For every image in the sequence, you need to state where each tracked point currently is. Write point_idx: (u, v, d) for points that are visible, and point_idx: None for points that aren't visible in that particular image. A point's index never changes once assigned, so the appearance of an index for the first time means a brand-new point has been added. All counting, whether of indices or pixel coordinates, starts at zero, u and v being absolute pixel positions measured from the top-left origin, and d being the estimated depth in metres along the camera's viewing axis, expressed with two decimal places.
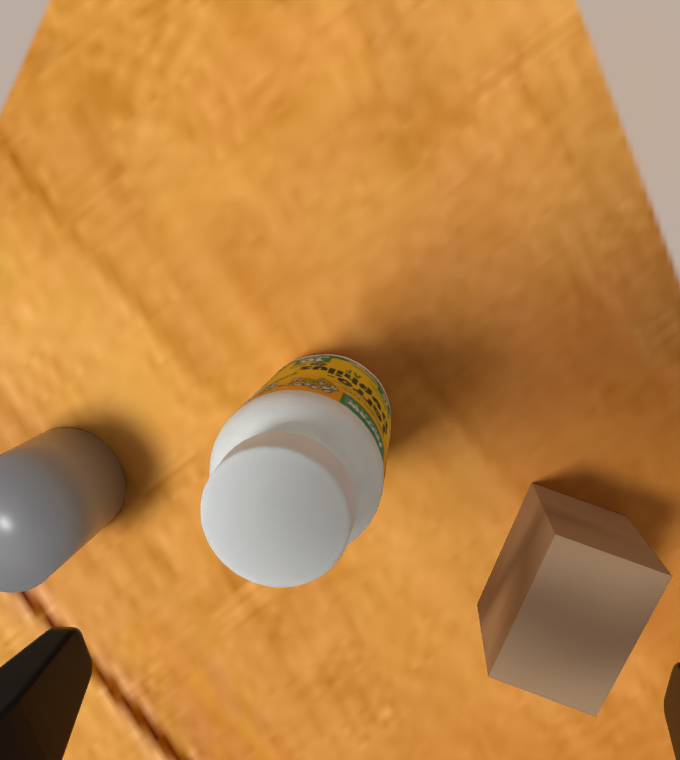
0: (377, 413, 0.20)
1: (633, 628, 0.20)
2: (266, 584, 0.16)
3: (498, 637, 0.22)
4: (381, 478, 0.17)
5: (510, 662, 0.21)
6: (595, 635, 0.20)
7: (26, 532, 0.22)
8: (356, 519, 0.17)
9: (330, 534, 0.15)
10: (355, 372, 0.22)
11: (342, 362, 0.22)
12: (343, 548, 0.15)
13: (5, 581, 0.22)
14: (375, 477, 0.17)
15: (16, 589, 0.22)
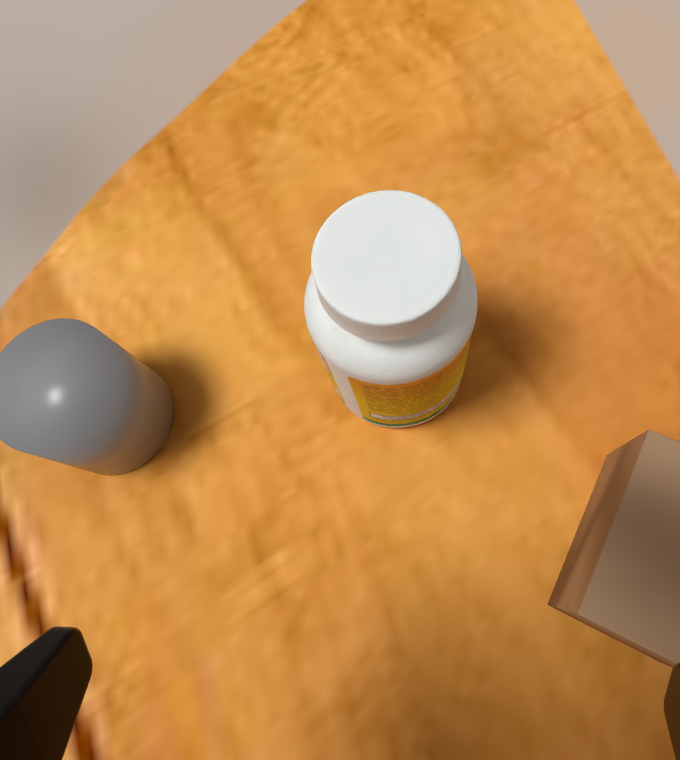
0: None
1: None
2: (365, 321, 0.15)
3: (586, 574, 0.18)
4: (477, 300, 0.18)
5: (605, 594, 0.17)
6: None
7: (81, 385, 0.21)
8: (451, 323, 0.17)
9: (440, 268, 0.15)
10: None
11: None
12: (452, 283, 0.15)
13: (34, 440, 0.20)
14: (473, 291, 0.17)
15: (42, 450, 0.20)
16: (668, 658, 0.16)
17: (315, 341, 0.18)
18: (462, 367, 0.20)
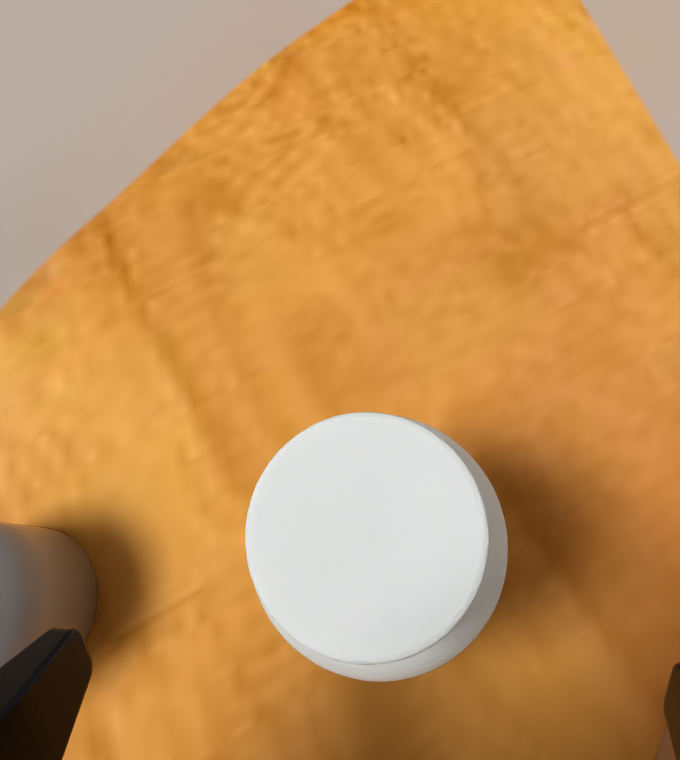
0: None
1: None
2: (329, 655, 0.09)
3: None
4: (507, 551, 0.12)
5: None
6: None
7: None
8: None
9: (454, 564, 0.09)
10: None
11: None
12: (474, 593, 0.09)
13: None
14: (501, 542, 0.11)
15: None
16: None
17: (263, 606, 0.12)
18: None
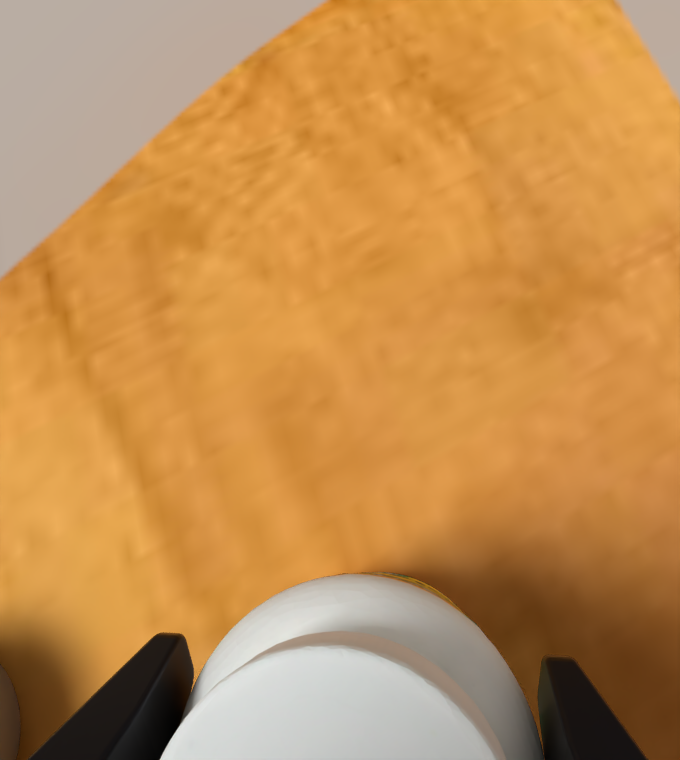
0: None
1: None
2: None
3: None
4: None
5: None
6: None
7: None
8: None
9: None
10: (450, 601, 0.13)
11: (427, 584, 0.14)
12: None
13: None
14: None
15: None
16: None
17: None
18: None
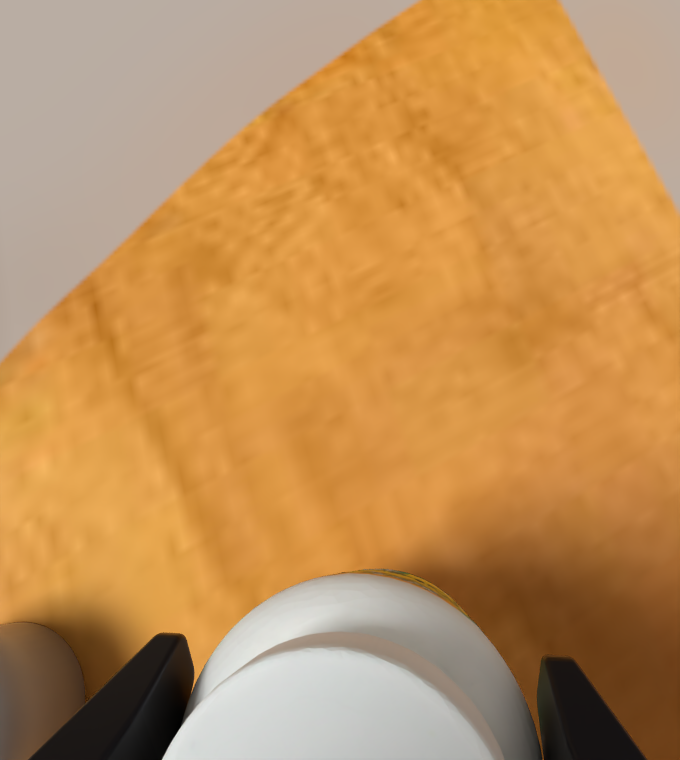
0: None
1: None
2: None
3: None
4: None
5: None
6: None
7: None
8: None
9: None
10: (449, 597, 0.13)
11: (426, 581, 0.14)
12: None
13: None
14: None
15: None
16: None
17: None
18: None
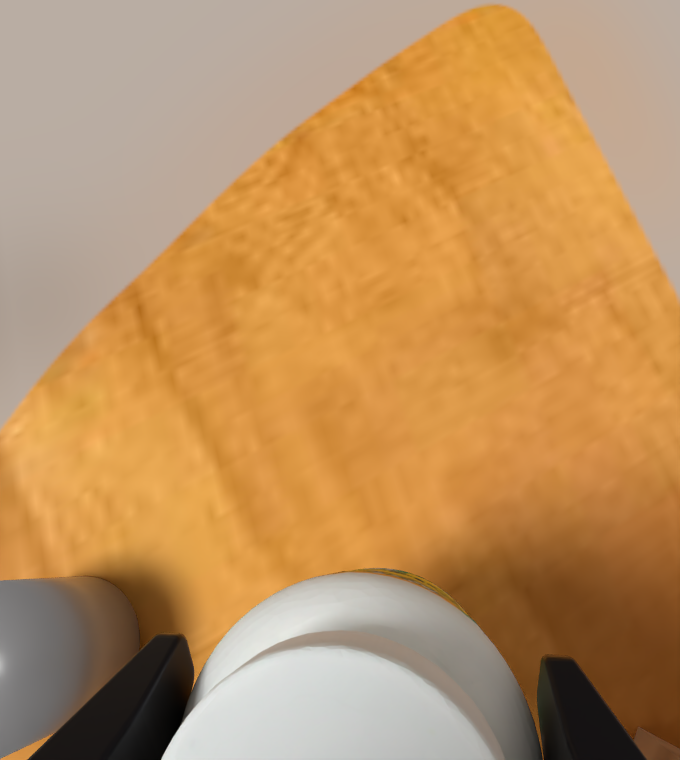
0: None
1: None
2: None
3: None
4: None
5: None
6: None
7: (20, 674, 0.18)
8: None
9: None
10: (449, 596, 0.13)
11: (426, 580, 0.14)
12: None
13: None
14: None
15: None
16: None
17: None
18: None
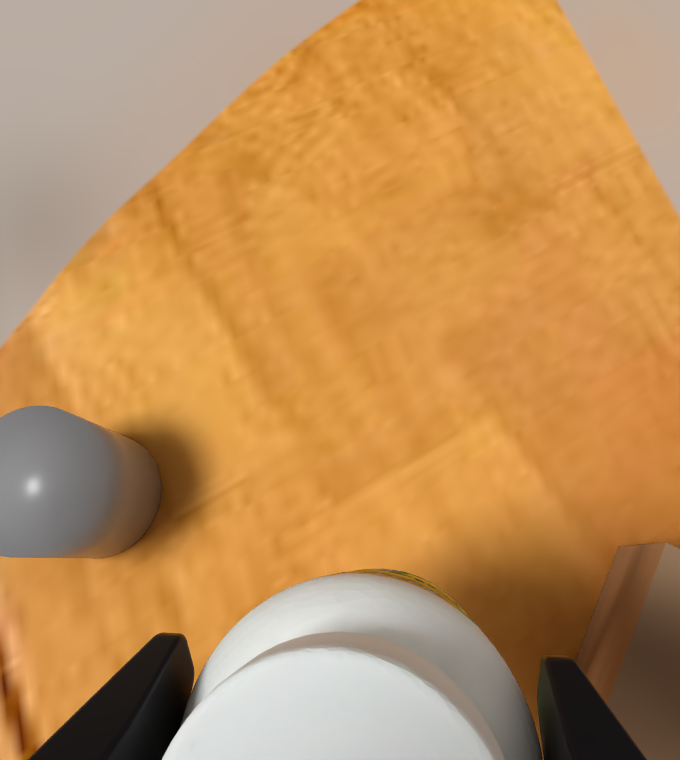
0: None
1: None
2: None
3: None
4: None
5: None
6: None
7: (59, 482, 0.19)
8: None
9: None
10: (449, 597, 0.13)
11: (426, 580, 0.14)
12: None
13: (8, 542, 0.19)
14: None
15: (17, 553, 0.19)
16: None
17: None
18: None
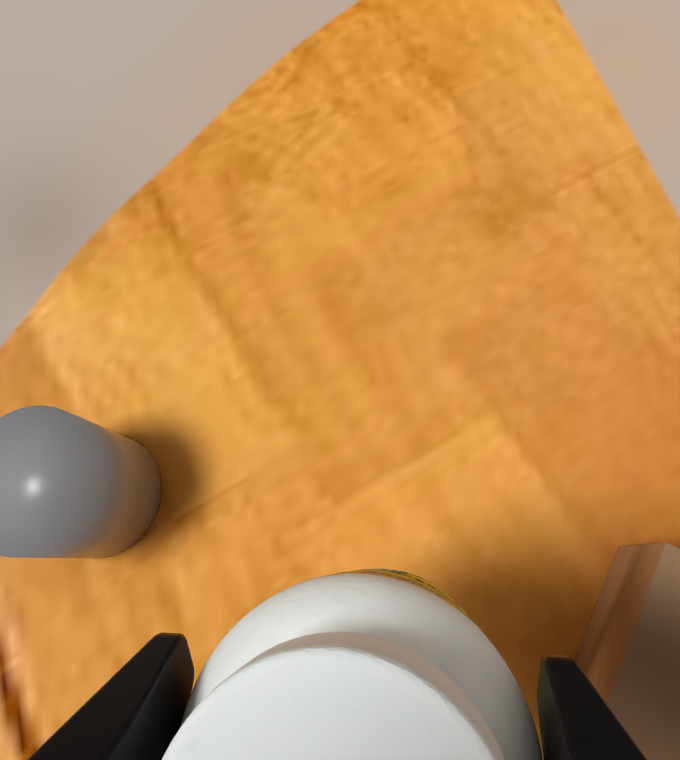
0: None
1: None
2: None
3: None
4: None
5: None
6: None
7: (59, 482, 0.19)
8: None
9: None
10: (449, 597, 0.13)
11: (426, 580, 0.14)
12: None
13: (9, 542, 0.19)
14: None
15: (17, 553, 0.19)
16: None
17: None
18: None
